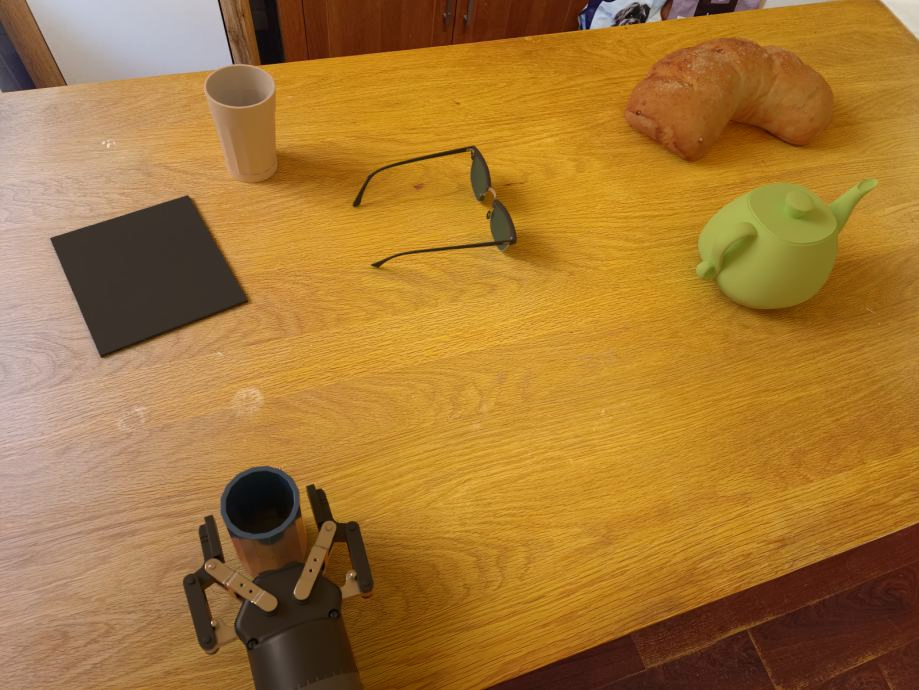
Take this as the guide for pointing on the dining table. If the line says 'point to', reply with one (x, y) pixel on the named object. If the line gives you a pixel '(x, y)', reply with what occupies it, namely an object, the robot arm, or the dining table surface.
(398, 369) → the dining table surface
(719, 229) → the teapot
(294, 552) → the tumbler
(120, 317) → the mat
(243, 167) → the cup
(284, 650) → the robot arm
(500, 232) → the sunglasses
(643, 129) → the bread
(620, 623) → the dining table surface
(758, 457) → the dining table surface
